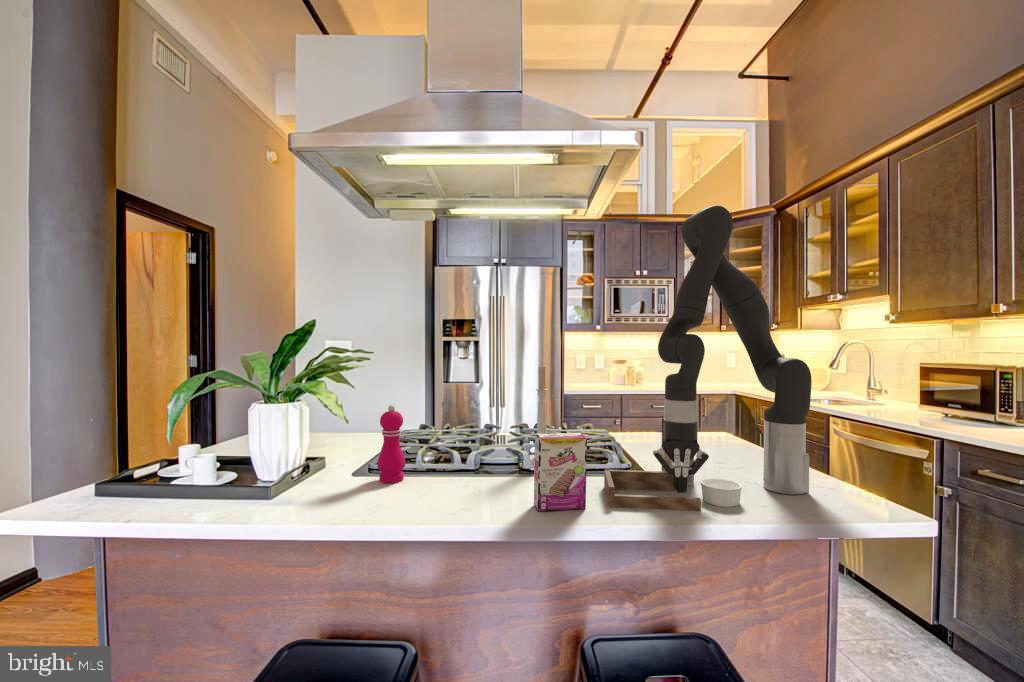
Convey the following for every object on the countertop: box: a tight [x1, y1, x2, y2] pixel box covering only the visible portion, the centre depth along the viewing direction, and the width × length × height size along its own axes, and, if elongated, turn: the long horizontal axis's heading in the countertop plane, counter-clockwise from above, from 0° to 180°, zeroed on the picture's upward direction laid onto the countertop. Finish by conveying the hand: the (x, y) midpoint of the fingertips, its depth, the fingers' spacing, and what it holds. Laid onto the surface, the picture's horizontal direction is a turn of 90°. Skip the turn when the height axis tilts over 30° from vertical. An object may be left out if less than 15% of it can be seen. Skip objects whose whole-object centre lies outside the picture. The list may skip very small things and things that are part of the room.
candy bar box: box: [533, 432, 588, 512], centre depth 108 cm, size 11×5×16 cm, turn 100°
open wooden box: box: [603, 469, 702, 511], centre depth 115 cm, size 20×14×4 cm
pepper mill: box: [377, 404, 406, 484], centre depth 128 cm, size 7×7×20 cm
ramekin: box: [700, 477, 743, 508], centre depth 113 cm, size 9×9×4 cm
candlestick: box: [519, 366, 549, 468], centre depth 143 cm, size 13×13×30 cm
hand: (680, 491), depth 114 cm, fingers closed
